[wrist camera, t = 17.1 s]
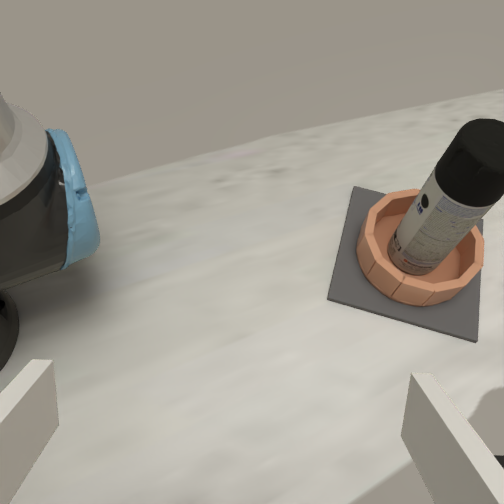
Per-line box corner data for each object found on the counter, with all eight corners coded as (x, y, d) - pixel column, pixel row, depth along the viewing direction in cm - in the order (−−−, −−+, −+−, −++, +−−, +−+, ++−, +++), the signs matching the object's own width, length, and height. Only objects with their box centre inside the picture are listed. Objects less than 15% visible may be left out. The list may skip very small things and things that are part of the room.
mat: (327, 299, 54) (327, 297, 53) (353, 188, 62) (354, 185, 62) (475, 342, 52) (477, 341, 51) (481, 221, 60) (483, 219, 60)
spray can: (415, 223, 58) (493, 106, 41) (450, 263, 55) (550, 155, 38) (376, 244, 56) (440, 131, 39) (410, 286, 53) (496, 184, 36)
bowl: (347, 288, 54) (356, 270, 50) (365, 200, 61) (375, 178, 56) (461, 320, 52) (481, 305, 48) (467, 227, 59) (485, 206, 55)
